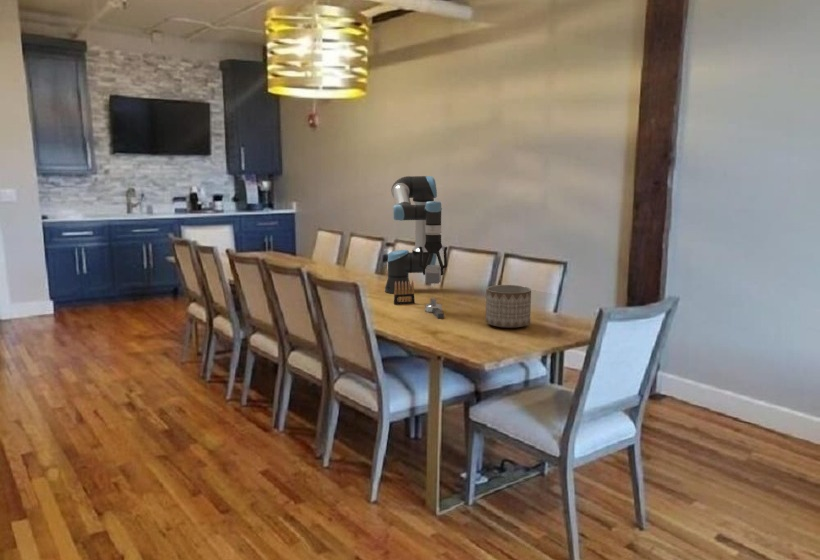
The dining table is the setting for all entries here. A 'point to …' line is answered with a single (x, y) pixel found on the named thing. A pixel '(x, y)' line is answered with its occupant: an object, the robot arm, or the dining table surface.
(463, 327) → the dining table surface
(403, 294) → the ammunition clip
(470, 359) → the dining table surface
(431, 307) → the metal ladle
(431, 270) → the grey rectangular block
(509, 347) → the dining table surface
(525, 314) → the planter
